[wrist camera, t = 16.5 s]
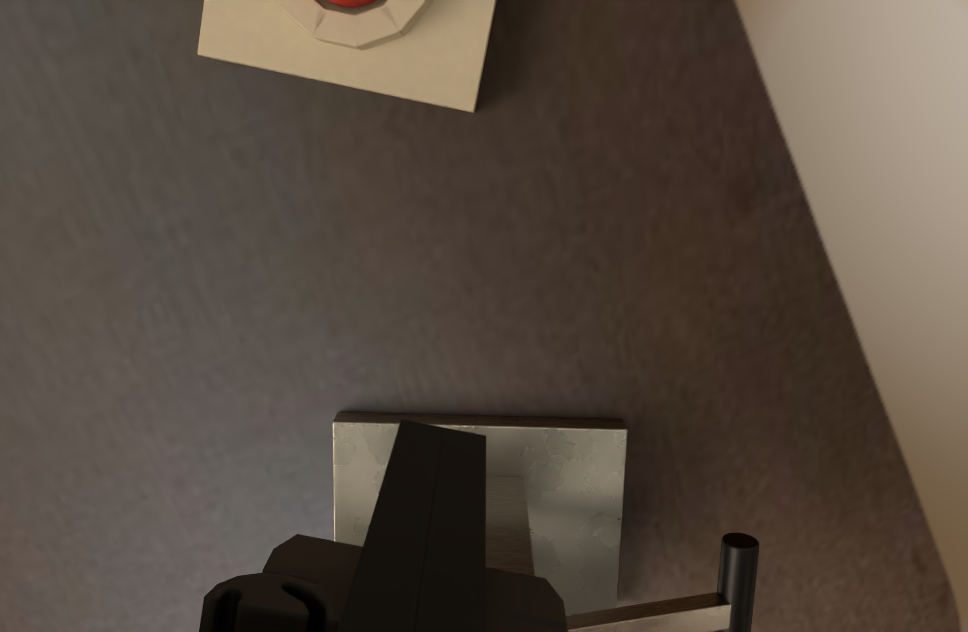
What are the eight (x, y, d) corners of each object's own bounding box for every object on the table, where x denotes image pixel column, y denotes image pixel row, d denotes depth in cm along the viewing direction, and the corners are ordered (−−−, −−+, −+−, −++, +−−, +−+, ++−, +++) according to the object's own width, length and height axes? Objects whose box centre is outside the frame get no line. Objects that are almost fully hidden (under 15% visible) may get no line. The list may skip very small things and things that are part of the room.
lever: (738, 524, 36) (774, 551, 34) (726, 654, 37) (760, 689, 35) (430, 564, 32) (447, 598, 30) (428, 709, 33) (444, 751, 31)
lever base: (623, 419, 42) (686, 553, 29) (611, 604, 45) (665, 810, 31) (337, 411, 42) (267, 542, 29) (339, 597, 45) (274, 800, 31)
